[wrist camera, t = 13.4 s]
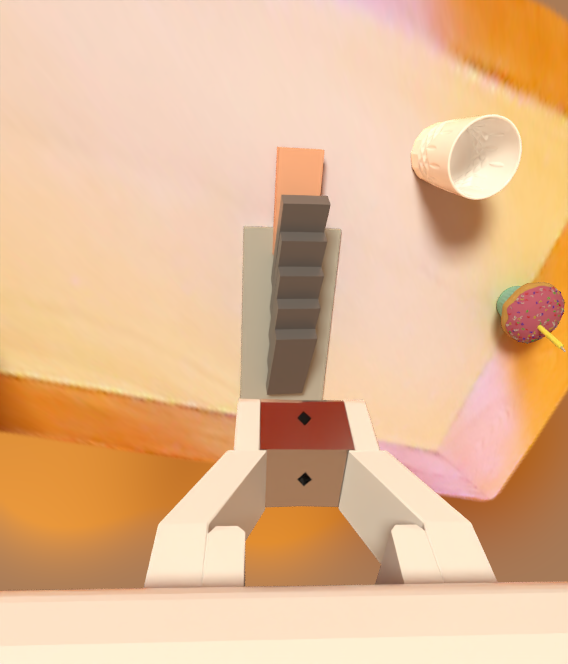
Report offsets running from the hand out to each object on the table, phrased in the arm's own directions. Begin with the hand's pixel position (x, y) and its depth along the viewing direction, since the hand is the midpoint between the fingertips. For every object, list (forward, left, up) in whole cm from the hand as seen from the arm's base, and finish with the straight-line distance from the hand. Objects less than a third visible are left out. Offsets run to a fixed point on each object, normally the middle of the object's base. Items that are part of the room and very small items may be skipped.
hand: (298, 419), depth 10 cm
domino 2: (+8, -11, -42) cm, 44 cm away
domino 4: (+8, -19, -42) cm, 47 cm away
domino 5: (+8, -23, -42) cm, 49 cm away
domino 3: (+8, -15, -42) cm, 46 cm away
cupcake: (+41, -14, -44) cm, 62 cm away
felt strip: (+8, -18, -44) cm, 48 cm away
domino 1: (+8, -7, -42) cm, 44 cm away
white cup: (+25, +5, -44) cm, 51 cm away
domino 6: (+8, -27, -42) cm, 51 cm away
